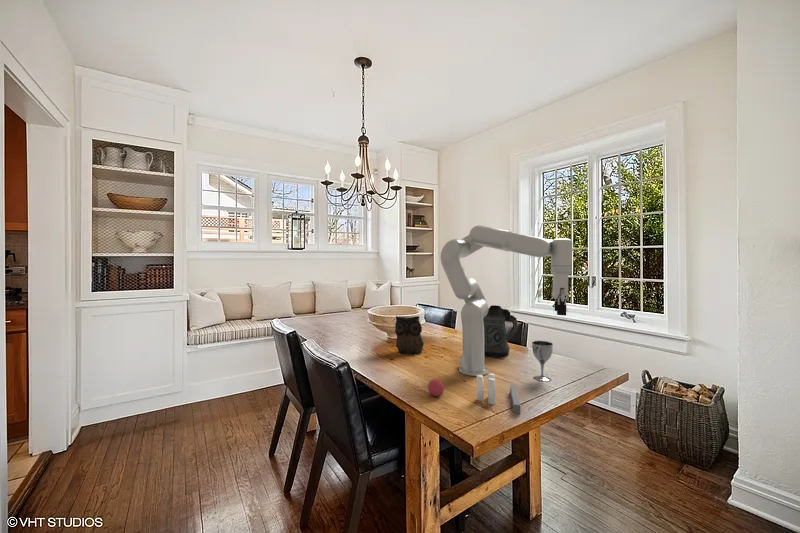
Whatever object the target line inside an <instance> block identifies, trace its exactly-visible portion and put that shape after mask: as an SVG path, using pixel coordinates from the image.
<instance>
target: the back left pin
mask: <svg viewBox="0 0 800 533" xmlns="http://www.w3.org/2000/svg"><path fill="white" fill-rule="evenodd" d="M495 376H496V374H495V373H487V380H488V379H489V378H493V379H495V380H496V377H495Z"/></svg>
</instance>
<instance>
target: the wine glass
mask: <svg viewBox="0 0 800 533" xmlns="http://www.w3.org/2000/svg"><path fill="white" fill-rule="evenodd" d="M553 344H554V343H553V342H552V341H546V340H533V341H532V344H531V347H532V354H533V356H534V357H535V359H536V360H537V362H538V363H539V366H540V370H541V371H540V372H541V373H540V375H539V374H537V375H534V376H533V380H534V381H538V382H543V381H547V382H551V381H552V378H551V377H550V378H549V376H547V375H544V368H545V367H544V366H545V364H546V363H547V362H548V361H549V360H550V359H551V357H552V354H553V351H554V346H553ZM550 380H551V381H550Z"/></svg>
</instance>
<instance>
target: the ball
mask: <svg viewBox="0 0 800 533" xmlns="http://www.w3.org/2000/svg"><path fill="white" fill-rule="evenodd" d="M427 390H428V392H429V394H430V395H431V396H433V397H439V396H442V395H443V393H444V391H445V385H444V383H443V382H442V381H441V380H440V379H435V378H434V379H431V380H430V381H429V382H428V385H427Z"/></svg>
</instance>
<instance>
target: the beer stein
mask: <svg viewBox="0 0 800 533" xmlns="http://www.w3.org/2000/svg"><path fill="white" fill-rule="evenodd" d="M488 308H489V310H488V314H487V315H486V316H485V317H484V318H483V323H484V357H488V358H506V357H507V356H509V353H510V346H509V343H508V340H510V339H511V338H513V336H514V334H515V333H516V332H517V330H518V327H519V323H518V318H516V316H514V315H512V314H511V312H510V311H509V309H505V308H502V307H501V306H500V305H496V304H495V305H494V304H493V305H490V306H489V307H488ZM506 321H509V322H511V323H512V327H511V329H510V330H509V332H508V333H507V328H506Z"/></svg>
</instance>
